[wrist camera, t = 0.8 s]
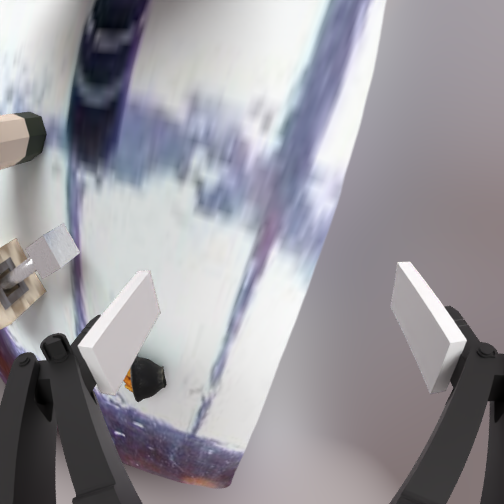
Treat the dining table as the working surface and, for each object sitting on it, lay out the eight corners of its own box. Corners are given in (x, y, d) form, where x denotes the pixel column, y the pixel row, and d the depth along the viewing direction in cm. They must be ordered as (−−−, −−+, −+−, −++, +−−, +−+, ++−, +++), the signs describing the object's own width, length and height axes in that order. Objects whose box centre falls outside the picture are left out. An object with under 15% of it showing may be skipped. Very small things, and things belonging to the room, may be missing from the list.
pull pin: (-6, 276, 45) (-22, 288, 40) (63, 222, 39) (43, 235, 34) (7, 298, 46) (-8, 311, 42) (80, 252, 40) (61, 267, 36)
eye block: (-1, 252, 48) (-37, 277, 38) (17, 236, 46) (-23, 262, 36) (27, 301, 52) (-5, 331, 42) (47, 290, 50) (12, 323, 40)
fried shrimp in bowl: (170, 405, 52) (81, 407, 48) (165, 354, 60) (83, 357, 55) (164, 391, 46) (64, 392, 42) (160, 333, 53) (68, 336, 49)
